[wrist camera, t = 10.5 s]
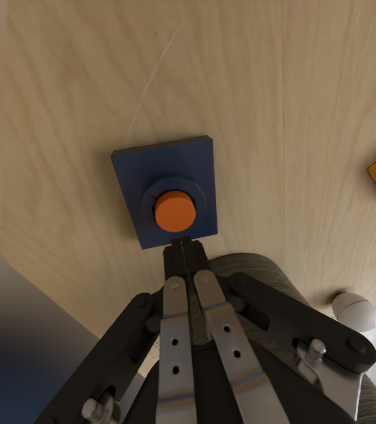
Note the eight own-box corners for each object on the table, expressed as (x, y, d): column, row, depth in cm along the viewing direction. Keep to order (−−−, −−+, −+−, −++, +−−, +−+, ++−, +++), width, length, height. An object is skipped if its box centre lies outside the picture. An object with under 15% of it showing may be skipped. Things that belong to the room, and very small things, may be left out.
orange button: (151, 194, 19) (151, 202, 17) (190, 186, 19) (193, 194, 18) (159, 226, 21) (159, 235, 19) (194, 219, 21) (197, 228, 20)
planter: (256, 325, 44) (325, 470, 27) (161, 331, 38) (170, 518, 21) (304, 253, 33) (467, 415, 16) (183, 246, 28) (235, 482, 11)
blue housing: (113, 150, 20) (105, 161, 16) (207, 135, 20) (218, 142, 17) (142, 239, 26) (141, 260, 22) (213, 224, 27) (222, 242, 23)
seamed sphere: (360, 283, 42) (397, 315, 36) (345, 303, 46) (375, 336, 39) (321, 288, 40) (352, 323, 34) (308, 309, 44) (334, 344, 38)
